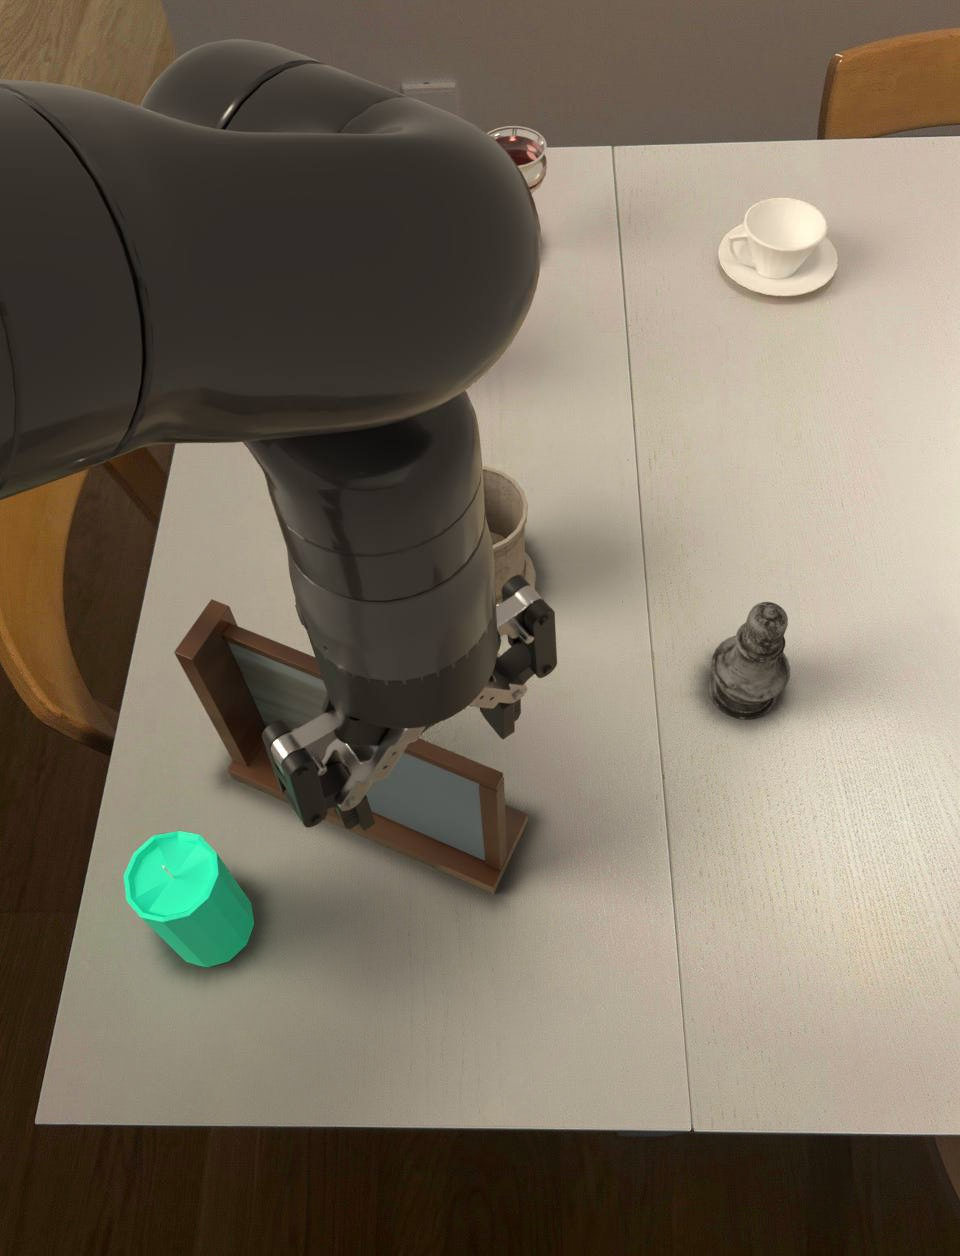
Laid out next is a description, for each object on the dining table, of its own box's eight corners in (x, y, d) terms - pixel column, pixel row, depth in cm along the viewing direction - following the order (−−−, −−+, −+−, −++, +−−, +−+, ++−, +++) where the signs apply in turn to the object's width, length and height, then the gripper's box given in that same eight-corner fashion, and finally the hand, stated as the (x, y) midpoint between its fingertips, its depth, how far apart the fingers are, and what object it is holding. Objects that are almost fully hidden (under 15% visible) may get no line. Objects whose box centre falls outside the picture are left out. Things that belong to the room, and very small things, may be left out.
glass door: (500, 870, 74) (496, 788, 62) (360, 809, 77) (329, 718, 65) (507, 855, 75) (504, 770, 63) (368, 795, 78) (339, 703, 66)
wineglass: (558, 249, 112) (562, 145, 102) (512, 280, 110) (511, 177, 100) (513, 221, 115) (512, 117, 105) (467, 250, 112) (462, 147, 102)
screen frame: (493, 894, 75) (486, 796, 61) (231, 777, 81) (166, 662, 66) (527, 821, 78) (528, 711, 63) (271, 713, 84) (218, 589, 69)
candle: (249, 966, 73) (205, 914, 63) (163, 968, 73) (106, 916, 63) (258, 882, 76) (218, 819, 66) (176, 883, 77) (123, 821, 66)
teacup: (695, 248, 111) (702, 204, 107) (794, 216, 114) (805, 172, 109) (754, 320, 105) (764, 277, 101) (857, 285, 108) (872, 241, 103)
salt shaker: (698, 712, 83) (722, 630, 72) (712, 649, 85) (737, 562, 75) (774, 731, 81) (810, 651, 71) (786, 667, 84) (822, 581, 74)
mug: (547, 615, 88) (551, 526, 78) (431, 638, 87) (419, 552, 77) (507, 483, 95) (506, 387, 85) (400, 504, 94) (385, 409, 84)
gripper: (285, 764, 37) (350, 906, 51) (604, 564, 41) (584, 746, 55) (187, 618, 40) (273, 788, 54) (491, 447, 44) (499, 646, 58)
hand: (430, 767), depth 54 cm, fingers open, 8 cm apart
